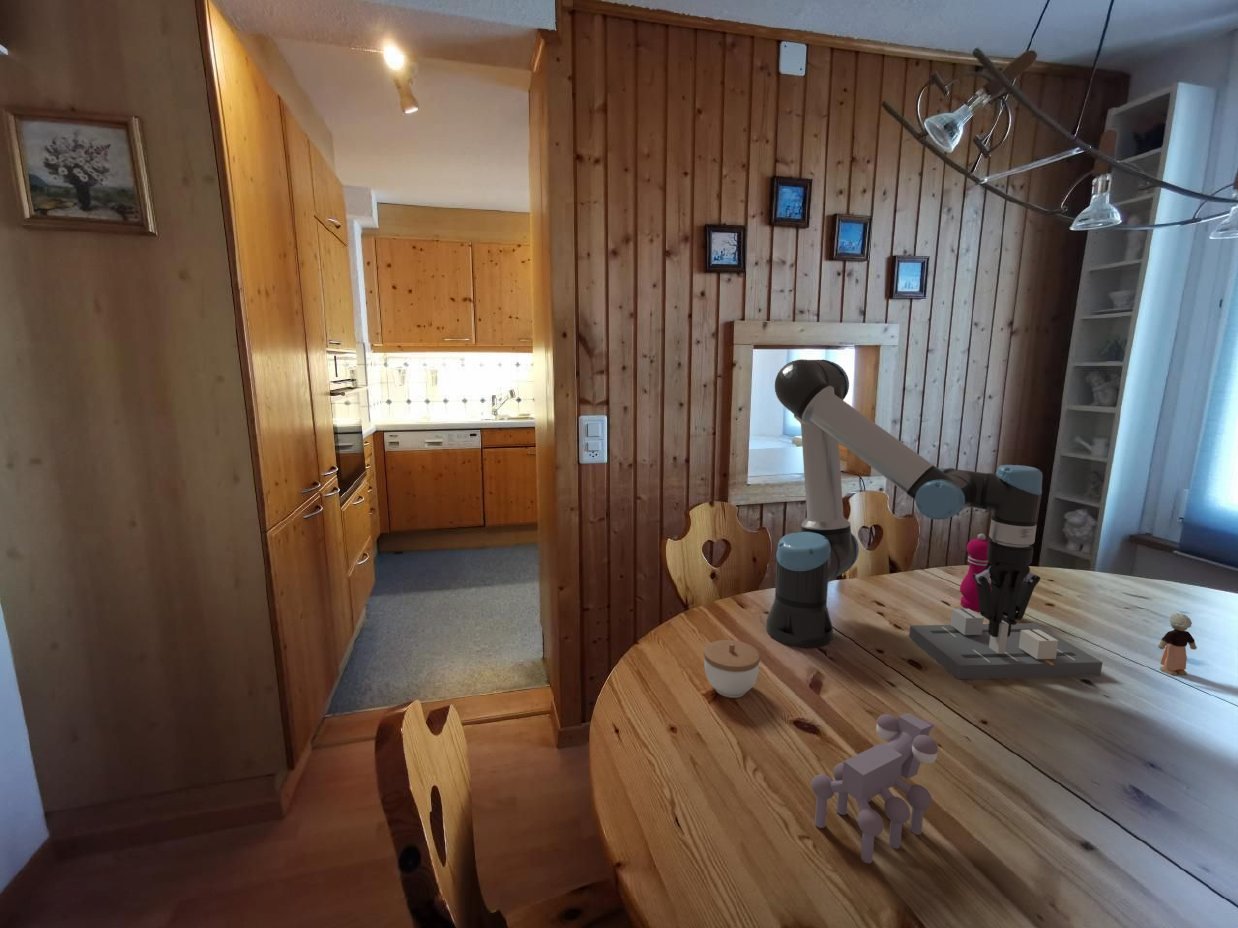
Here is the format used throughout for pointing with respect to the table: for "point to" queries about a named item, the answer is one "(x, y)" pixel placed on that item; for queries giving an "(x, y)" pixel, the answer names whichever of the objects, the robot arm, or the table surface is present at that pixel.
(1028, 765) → the table surface
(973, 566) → the pepper mill
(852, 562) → the robot arm
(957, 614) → the fader rear
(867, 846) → the toy sheep
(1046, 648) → the fader front
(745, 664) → the lidded jar
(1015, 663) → the console
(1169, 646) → the grandmother figurine
